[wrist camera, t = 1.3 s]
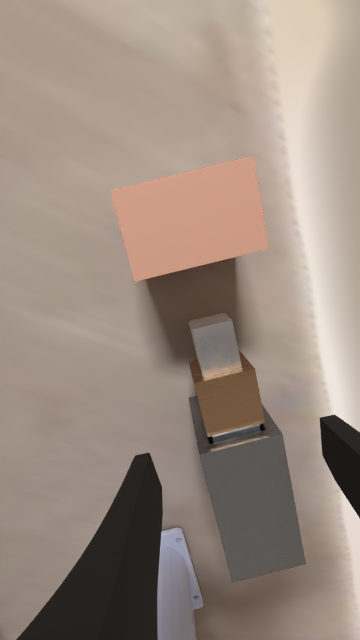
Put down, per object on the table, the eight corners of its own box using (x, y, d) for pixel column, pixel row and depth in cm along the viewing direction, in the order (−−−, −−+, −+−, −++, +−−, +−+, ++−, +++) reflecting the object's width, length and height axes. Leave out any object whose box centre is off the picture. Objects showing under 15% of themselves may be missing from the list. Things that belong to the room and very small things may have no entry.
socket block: (234, 252, 21) (268, 248, 14) (143, 274, 21) (134, 281, 14) (222, 190, 20) (253, 155, 14) (127, 213, 20) (109, 190, 13)
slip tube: (270, 505, 23) (289, 550, 19) (226, 516, 23) (238, 563, 19) (230, 308, 19) (245, 319, 16) (178, 321, 19) (182, 335, 16)
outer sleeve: (267, 483, 26) (305, 563, 19) (213, 496, 26) (232, 582, 19) (247, 383, 24) (282, 433, 17) (188, 397, 24) (199, 454, 17)
